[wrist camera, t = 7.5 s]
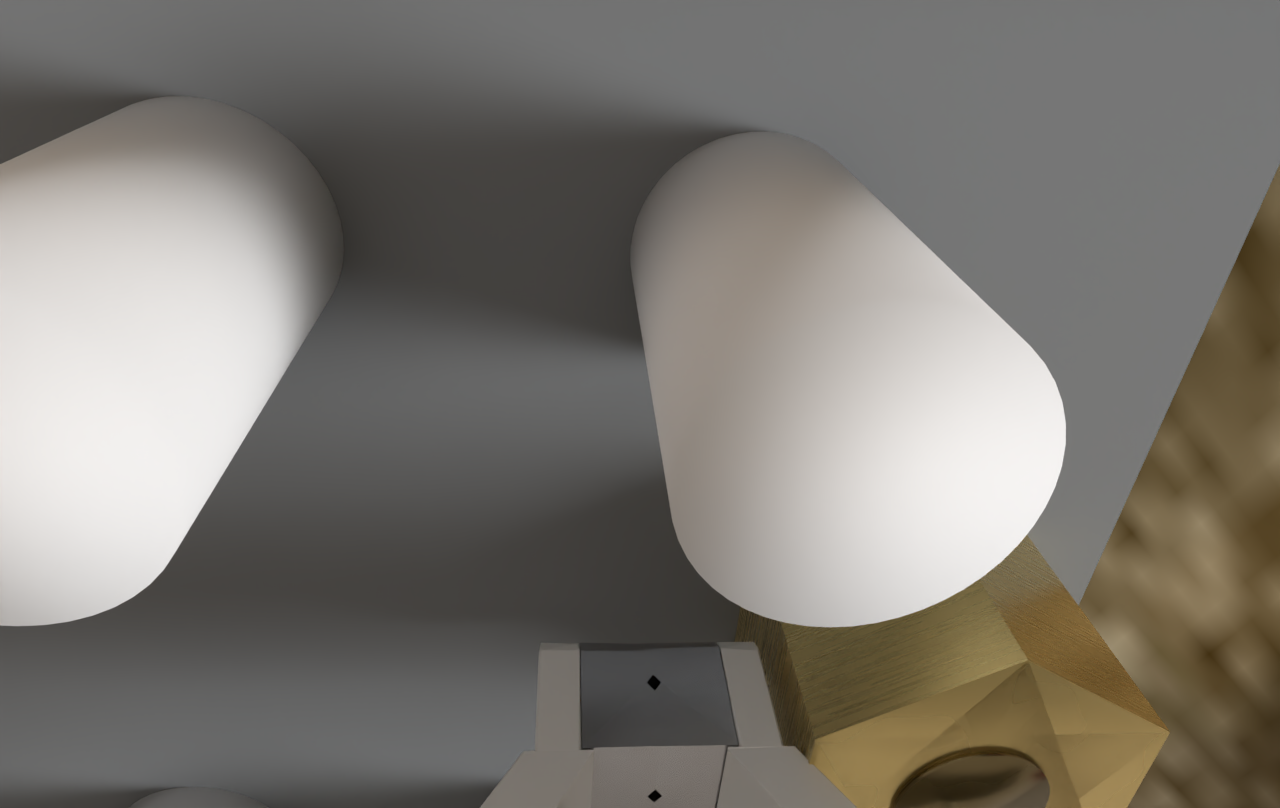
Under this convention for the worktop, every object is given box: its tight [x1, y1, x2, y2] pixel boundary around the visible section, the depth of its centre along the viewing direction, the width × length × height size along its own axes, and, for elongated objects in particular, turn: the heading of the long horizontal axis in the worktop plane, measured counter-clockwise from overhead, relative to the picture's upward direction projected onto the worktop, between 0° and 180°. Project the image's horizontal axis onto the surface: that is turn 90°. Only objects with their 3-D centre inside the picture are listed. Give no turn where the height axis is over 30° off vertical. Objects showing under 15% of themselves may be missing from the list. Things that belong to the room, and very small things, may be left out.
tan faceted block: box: [735, 535, 1170, 808], centre depth 11 cm, size 5×4×4 cm
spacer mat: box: [0, 0, 1280, 808], centre depth 9 cm, size 17×25×5 cm
